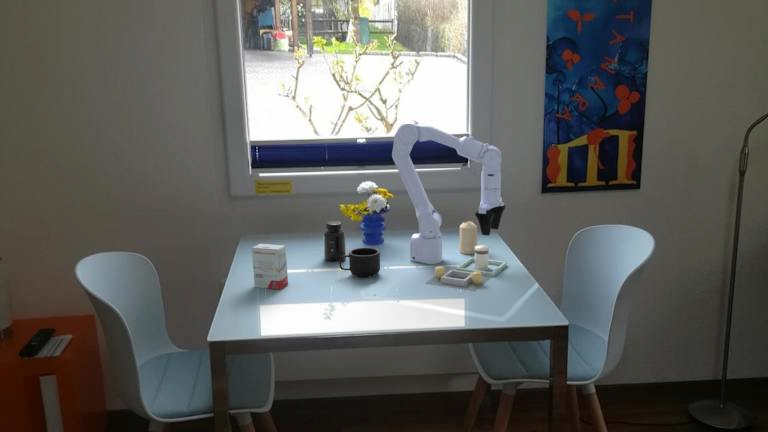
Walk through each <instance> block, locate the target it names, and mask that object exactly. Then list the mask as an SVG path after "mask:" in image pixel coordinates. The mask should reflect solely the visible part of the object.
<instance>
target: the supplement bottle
mask: <svg viewBox="0 0 768 432" xmlns="http://www.w3.org/2000/svg"><path fill="white" fill-rule="evenodd" d="M325 229H326V230H325V231H324V232H323V235H322V236H323V258H324V261H326V262H329V263H340V259H341V257H342V256H344V255H347V251H346V245H347V243H346V232H345V231H344V230H343V226H342V222H341V221H339V220H330V221H326V223H325ZM346 258H347V257H345V258H343V260H342V262H344V261H345V260H346Z"/></svg>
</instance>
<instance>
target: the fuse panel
mask: <svg viewBox="0 0 768 432" xmlns="http://www.w3.org/2000/svg"><path fill="white" fill-rule="evenodd" d="M434 273H435V274H434V276H432V277H431V278H430V279H428V280H427V281H426V282H425V284H427V285H434V286H440V287H444V288H445V287H446V288H447V287H448V288H453V289H460V290H466V291H471V292H476V291H478V289H480V288H481V287H482V286H483V285H485V284H486V283H487V282H488V281H489V280H490V279H491V277H489V276H483V275H482V273H481V272H478V271H474V272H472V273H471V272H465V271H458V270H456V269H449V271H447V270H446V267H445V266H443V265H439V266H435V267H434Z"/></svg>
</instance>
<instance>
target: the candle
mask: <svg viewBox="0 0 768 432" xmlns="http://www.w3.org/2000/svg"><path fill="white" fill-rule="evenodd" d="M477 245H478V225H476V224H475V223H474V222H473V221H471V220H468V221H467V220H465V221H464V222H462V223H461V224H460V225H459V253H461V254H464V255H473V254H474V255H475V246H477Z"/></svg>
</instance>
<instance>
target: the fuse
mask: <svg viewBox="0 0 768 432" xmlns="http://www.w3.org/2000/svg"><path fill="white" fill-rule="evenodd" d="M489 248H490V247H489V245H486V244H479V245H478V244H477V246H475V253H474V258H475V262H474V270H479V271H487V270H489V264H488V260H489V253H490V252H489V251H490V250H489Z"/></svg>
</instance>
